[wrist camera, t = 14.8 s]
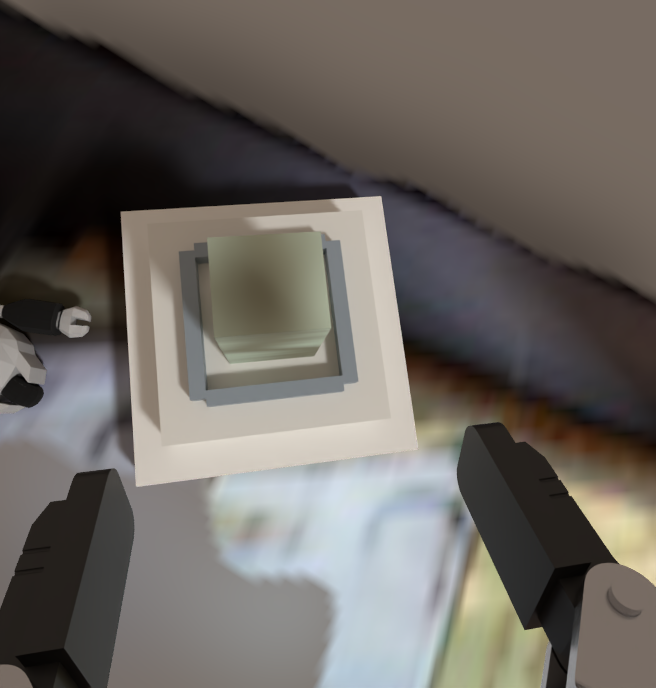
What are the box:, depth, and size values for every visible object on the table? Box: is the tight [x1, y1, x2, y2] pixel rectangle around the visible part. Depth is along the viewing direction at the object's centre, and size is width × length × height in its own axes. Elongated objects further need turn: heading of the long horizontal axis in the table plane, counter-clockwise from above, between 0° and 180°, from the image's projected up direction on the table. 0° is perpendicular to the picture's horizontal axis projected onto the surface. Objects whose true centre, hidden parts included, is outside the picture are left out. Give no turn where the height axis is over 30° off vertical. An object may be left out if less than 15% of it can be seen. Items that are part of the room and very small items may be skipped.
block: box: [207, 231, 331, 364], centre depth 23 cm, size 4×4×8 cm
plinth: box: [121, 196, 418, 487], centre depth 28 cm, size 16×16×6 cm
